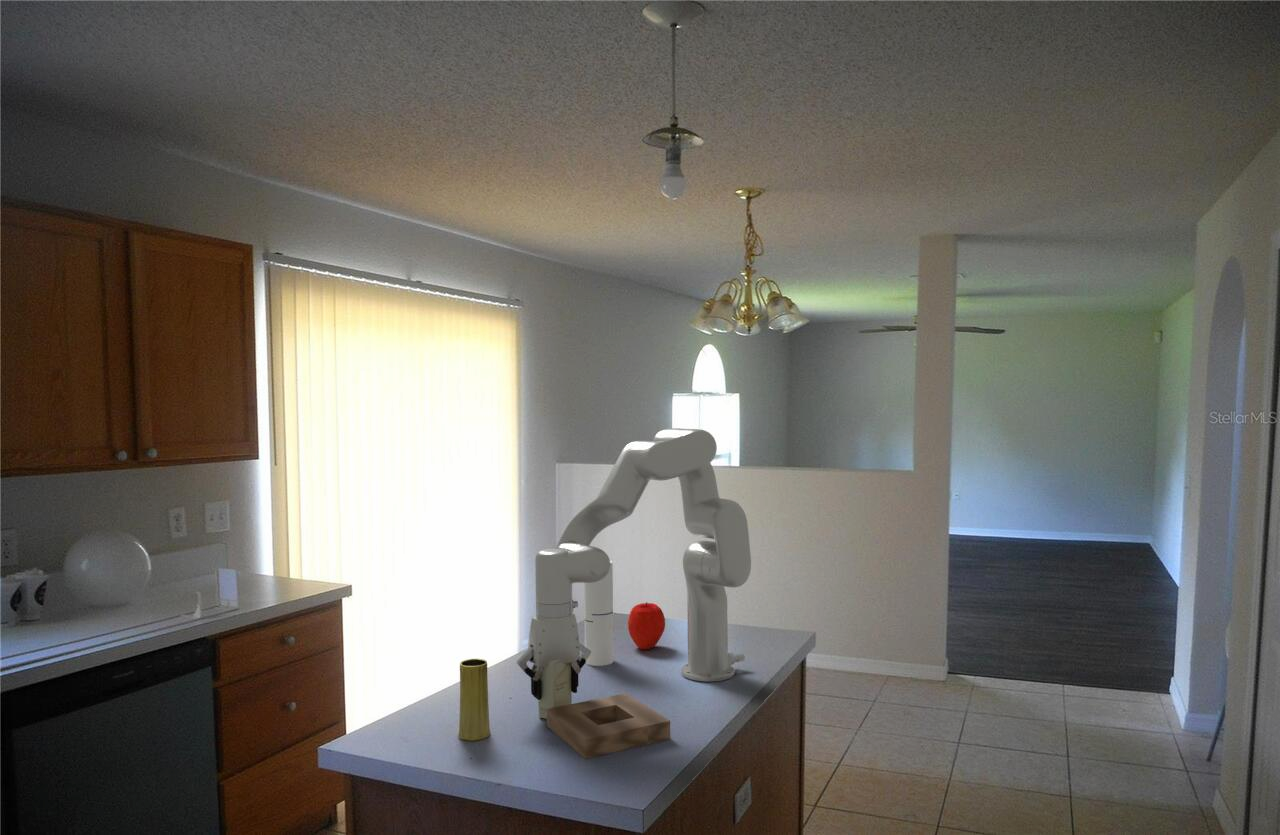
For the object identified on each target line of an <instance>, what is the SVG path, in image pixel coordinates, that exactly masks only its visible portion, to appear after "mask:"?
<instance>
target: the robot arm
mask: <svg viewBox="0 0 1280 835" xmlns="http://www.w3.org/2000/svg"><path fill="white" fill-rule="evenodd" d="M717 447H718V446H717V442H716V439H715V438H714V435H713V434H711V433H710V432H708V431H706V430H704V429H698V428H677V427H676V428H675V427H674V428H665V429H662V430H659V431H658V432H657V433H656V434H655V436H654V437H653V439H652V440H635V441H631V442H629V443H628V444H626V445H625V446H624V447H623V448H622V450H621V452H620V454H619V455H618V458H617V459H616V462H614V465H613V467H612V469H611V471H610V472H609V475H607V476H608V477H607V478H606V480H605V482H604V483H603V486H602V487H601V489H600V491H599V493H598V495H597V496H596V497H594V498H593V499H592V500H591V501H590V502H589V503H587V505H585V506H584V507H583V508H581V510H580V511H579V512H578V513H577V514H576V515H575V516H574V517H573V518H572V519H571V520H570V521H569V523H568V524H567V526H566V527H565V529H564V531H563V533H562V534H561V537H560V538H559V540H558V543H557V544H556V546H555V548H547V549H546V548H545V549H543V550H539V551H538V552H537V553H536V555H535V561H534V562H535V615H533V616H532V618H531V621H530V627H529V635H528V644H527V645H528V648H527V651H525V653H523V655H521V657H520V658H519V659H517V661H516V664H517V665H518V667H519V669H521V670H522V672H523V673H525V674H526V675H527V676H528V677H529V678H530V692H531V695H532V697H534V698H535V699H536V700H537V701H539V700H541V699H542V681H541V680H540V679H539V677H540V675H541V673H542V671H543V669H544V667H548V666H549V661H553V660H560V659H561V662H562V664H568V663H570V664H571V693H573V694H577V693H578V687H579V674H580V672H582V668H583V666H585V664H586V660H587V659H588V657H589V656H590V654H591V650H589V649H588V648H586V647H585V645H583V644H582V643H580V635H579V628H578V622H577V618H576V614H575V613H574V609H575V608H578V606H579V602H578V601H577V600H574V599H573V584H574V583H575V584H576V583H577V584H578V583H579V584H580V583H582V584H584V583H593V582H597V581H600V580H602V579H603V578H604V577H605V576H606V575H607V574H608V572H609V570H610V561H611V559H610V557H609V555H608V554H607V553H606V552H605V551H604V550H602V549H601V548H599V547H598V546H597V547H596V546H592V545H591V543H592V542H593V541H594V539H595V538H596V536H598V534H600V533H601V532H602V531H603V530H605V529H607V528H608V527H610V526H611V525H614V524H616V523H618V522H620V521H621V522H622V521H623V520H625V519H627V518H628V517H630V516H631V515H632V514H633V513H634V511H635V508H636V507H637V505H638V503H639V501H640V499H641V497H642V496H643V494H644V491H645V490H646V487H647V486H648V484H649V482H650V481H651V480H652V481H668V480H671V479H675V478H678V480H679V484H680V491H681V500H682V509H683V516H684V524H685V527H686V529H687V531H688V532H689V533H690V534H692V535H693V536H697V537H701V538H707V539H712V540H714V541H711V540H697V541H694V542H692V543H690V544H689V545H688V546H687V548H686V549H685V550H684V553H683V556H682V568H683V573H684V579H685V584H686V596H687V597H686V598H687V599H686V600H687V663H686V664H684V665H683V666H682V667H681V674H682V676H684V678H686V679H689V680H693V681H697V682H707V683H708V682H709V683H710V682H721V681H725V680H729V679H731V678H732V677H734V675H735V668H734V666H733V665H734V664H735V663H740V662H744V661H745V660H746V659H745V658H746V656H745V654H744V653H743V652H742V653H734V652H729V651H728V650H729V647H728V646H729V644H728V643H729V642H728V640H729V636H728V634H729V633H728V632H729V630H728V628H729V627H728V597H727V592H726V588H732V589H733V588H734V589H735V588H739V587H741V586H743V585H745V583H746V582H747V581H748V579H749V576H750V574H751V570H752V557H751V555H752V554H751V545H750V536H749V534H750V533H749V527H748V526H749V525H748V518H747V516H746V513H745V510H744V509H743V507H742V506H741V505H740V504H739V503H738V502H736V501H735V500H732V499H727V498H721V497H720V496H719V491H718V490H719V489H718V485H717V479H716V473H715V470H714V467H713V466H712V465H713V464H711V463H712V462H713V460H714V459H715V456H716V454H717V450H718V449H717ZM725 587H726V588H725ZM580 653H581V655H580ZM528 662H529V663H533V664H532V666H531V667H529V666H528V664H527V663H528Z"/></svg>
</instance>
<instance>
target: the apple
mask: <svg viewBox="0 0 1280 835" xmlns="http://www.w3.org/2000/svg"><path fill="white" fill-rule="evenodd" d="M665 618H666V617H665V615H664V612H663V610H662V608H661V607H659V606H658V605H657V604H656V603H653V602H652V603H651V602H647V601H646V602H644V603H639V604H636V605H634V606H633V607H632V608H631V610H630V613H629V616H628V622H627V629H628V633H629V636H630V638H631V640H632V642H634V644H635V645H636V647H637V648H638V649H640V650H642V651H643V650H650V649H651V650H652V649H653V648H654V647H655V646H656V645H657V644H658V642H659V641H660V639H661V638H662V636H663V634H664V631H665V627H666V619H665Z"/></svg>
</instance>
